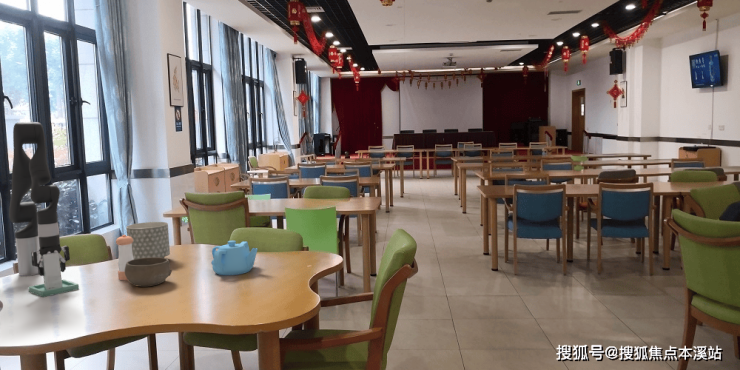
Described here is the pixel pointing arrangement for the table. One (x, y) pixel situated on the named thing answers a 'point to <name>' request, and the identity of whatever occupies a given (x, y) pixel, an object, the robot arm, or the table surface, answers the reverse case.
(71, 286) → the tray
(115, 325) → the table surface
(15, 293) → the table surface
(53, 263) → the skincare box
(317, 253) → the table surface
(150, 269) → the bowl
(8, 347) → the table surface
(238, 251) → the teapot
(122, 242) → the salt shaker
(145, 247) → the planter
